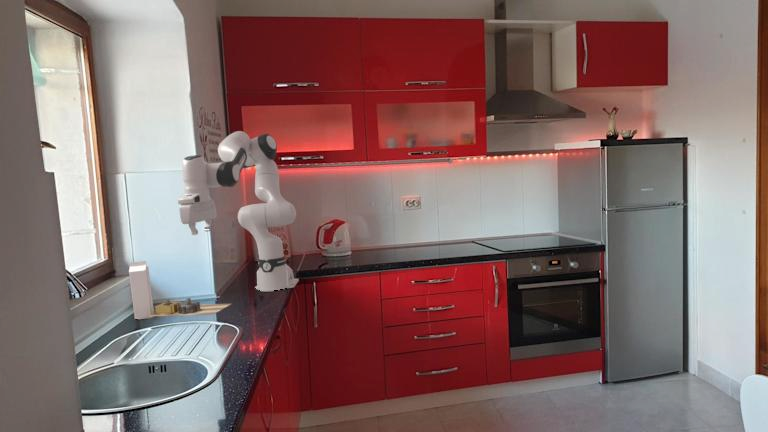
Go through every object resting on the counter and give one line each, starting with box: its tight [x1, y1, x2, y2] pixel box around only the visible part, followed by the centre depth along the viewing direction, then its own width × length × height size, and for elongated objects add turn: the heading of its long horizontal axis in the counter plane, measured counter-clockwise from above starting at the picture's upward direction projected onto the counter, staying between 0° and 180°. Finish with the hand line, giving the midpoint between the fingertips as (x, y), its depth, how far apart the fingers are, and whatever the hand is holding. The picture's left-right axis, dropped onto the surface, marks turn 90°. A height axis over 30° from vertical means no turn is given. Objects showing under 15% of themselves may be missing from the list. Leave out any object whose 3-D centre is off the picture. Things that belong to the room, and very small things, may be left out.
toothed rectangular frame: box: [154, 301, 182, 314], centre depth 200 cm, size 6×8×3 cm
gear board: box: [147, 297, 232, 319], centre depth 201 cm, size 15×27×6 cm, turn 79°
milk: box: [128, 260, 155, 320], centre depth 201 cm, size 6×6×22 cm
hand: (201, 232), depth 200 cm, fingers open, 8 cm apart
